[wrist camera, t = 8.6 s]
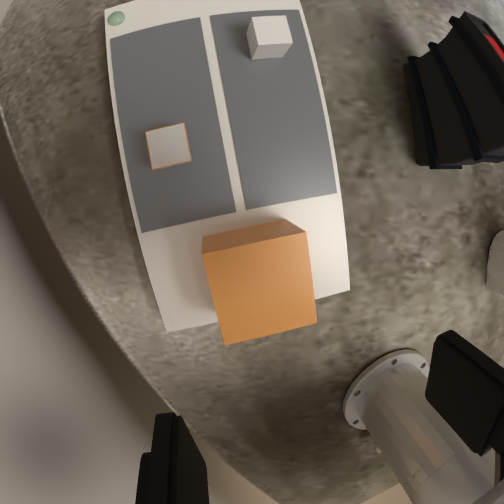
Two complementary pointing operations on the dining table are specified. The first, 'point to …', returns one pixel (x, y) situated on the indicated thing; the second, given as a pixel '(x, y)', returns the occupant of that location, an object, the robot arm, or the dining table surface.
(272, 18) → the lever
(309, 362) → the dining table surface
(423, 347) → the dining table surface
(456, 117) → the magazine
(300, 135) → the board
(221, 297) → the cap
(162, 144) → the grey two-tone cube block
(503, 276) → the paper towel roll
